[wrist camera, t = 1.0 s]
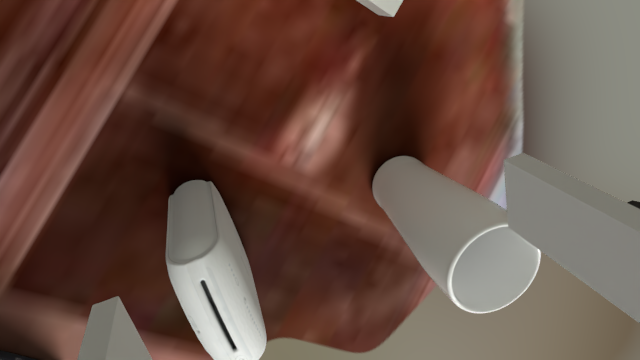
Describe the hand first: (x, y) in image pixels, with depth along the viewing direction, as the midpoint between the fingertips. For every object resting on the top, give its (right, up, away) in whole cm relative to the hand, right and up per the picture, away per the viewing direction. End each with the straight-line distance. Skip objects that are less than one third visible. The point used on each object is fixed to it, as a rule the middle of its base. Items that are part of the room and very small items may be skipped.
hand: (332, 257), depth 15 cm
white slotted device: (-10, -2, +24) cm, 26 cm away
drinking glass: (+7, +2, +27) cm, 28 cm away
